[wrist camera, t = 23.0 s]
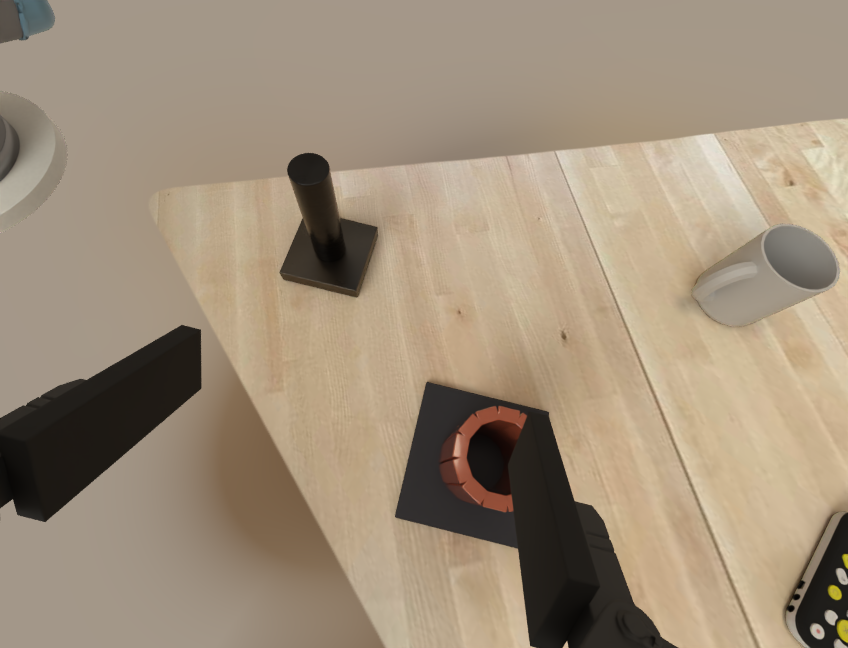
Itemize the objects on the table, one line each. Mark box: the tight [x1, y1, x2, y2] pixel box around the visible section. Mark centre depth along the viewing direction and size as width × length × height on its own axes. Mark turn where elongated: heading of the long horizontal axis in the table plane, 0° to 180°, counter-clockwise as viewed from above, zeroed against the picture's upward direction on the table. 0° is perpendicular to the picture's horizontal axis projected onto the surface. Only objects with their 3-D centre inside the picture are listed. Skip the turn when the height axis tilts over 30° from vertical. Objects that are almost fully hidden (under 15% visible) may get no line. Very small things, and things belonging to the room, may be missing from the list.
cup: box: [691, 224, 840, 327], centre depth 40 cm, size 7×10×9 cm
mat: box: [395, 382, 549, 548], centre depth 36 cm, size 12×12×1 cm
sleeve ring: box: [439, 406, 527, 512], centre depth 31 cm, size 7×7×9 cm
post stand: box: [280, 153, 378, 297], centre depth 37 cm, size 8×8×13 cm
